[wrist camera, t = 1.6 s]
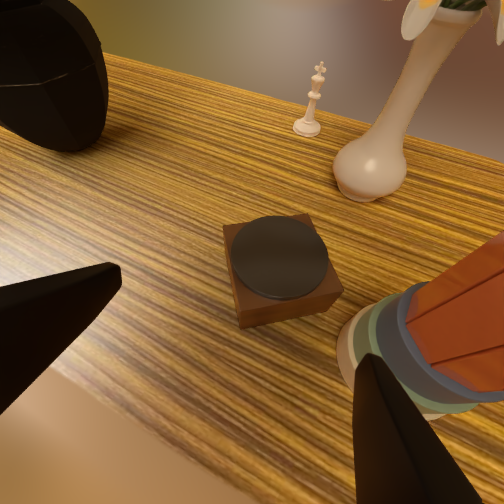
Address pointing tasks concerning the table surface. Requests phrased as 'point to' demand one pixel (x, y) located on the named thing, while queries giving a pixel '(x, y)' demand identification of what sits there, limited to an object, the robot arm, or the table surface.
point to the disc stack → (403, 358)
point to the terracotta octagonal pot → (464, 319)
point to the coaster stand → (279, 270)
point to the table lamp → (51, 74)
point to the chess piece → (311, 107)
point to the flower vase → (408, 95)
